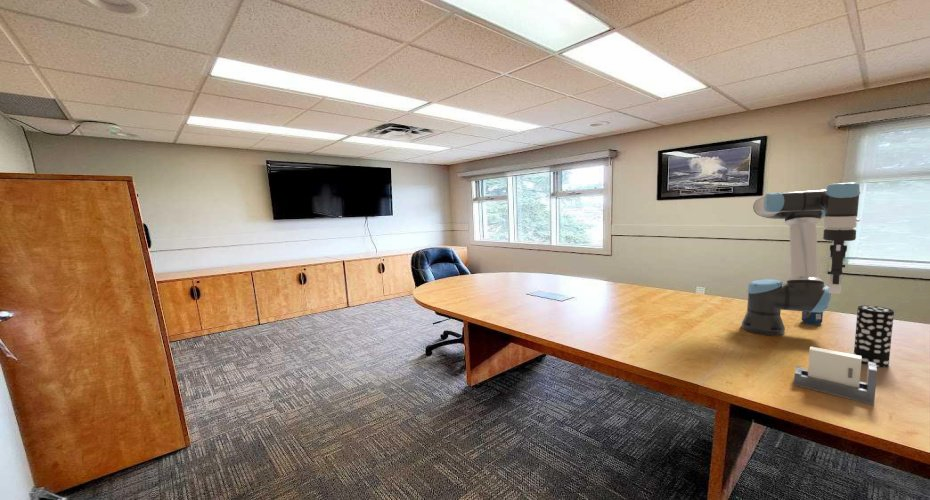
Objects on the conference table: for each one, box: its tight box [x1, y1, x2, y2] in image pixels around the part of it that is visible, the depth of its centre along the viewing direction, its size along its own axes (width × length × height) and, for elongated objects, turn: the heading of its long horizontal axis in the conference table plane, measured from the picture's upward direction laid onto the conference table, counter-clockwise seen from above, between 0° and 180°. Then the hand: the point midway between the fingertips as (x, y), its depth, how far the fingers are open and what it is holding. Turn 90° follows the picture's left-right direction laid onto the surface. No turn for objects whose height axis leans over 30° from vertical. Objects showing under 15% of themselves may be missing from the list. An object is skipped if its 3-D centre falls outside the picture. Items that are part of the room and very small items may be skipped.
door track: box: [793, 362, 878, 406], centre depth 108 cm, size 17×7×11 cm, turn 42°
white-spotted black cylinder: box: [853, 305, 895, 368], centre depth 123 cm, size 8×8×20 cm
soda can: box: [801, 311, 824, 326], centre depth 162 cm, size 7×7×12 cm
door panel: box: [807, 346, 862, 388], centre depth 108 cm, size 11×3×12 cm, turn 42°
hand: (835, 289), depth 119 cm, fingers open, 13 cm apart
